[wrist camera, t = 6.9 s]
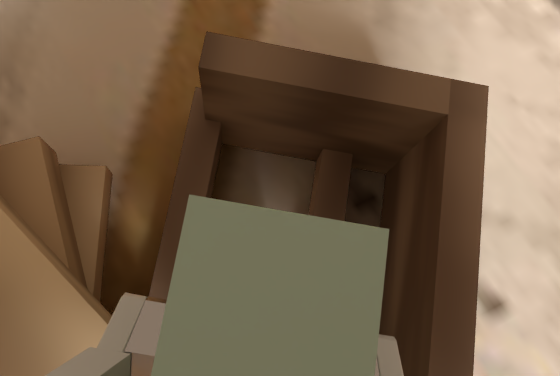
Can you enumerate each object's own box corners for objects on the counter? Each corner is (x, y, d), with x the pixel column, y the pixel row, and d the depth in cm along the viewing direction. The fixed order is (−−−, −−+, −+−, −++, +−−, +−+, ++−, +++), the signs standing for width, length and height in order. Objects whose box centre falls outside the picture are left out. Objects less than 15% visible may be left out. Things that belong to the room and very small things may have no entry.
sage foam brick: (285, 291, 23) (388, 229, 8) (267, 408, 22) (349, 625, 6) (220, 280, 23) (189, 194, 7) (198, 398, 21) (104, 592, 6)
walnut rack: (415, 152, 27) (488, 86, 19) (370, 636, 21) (449, 815, 14) (199, 112, 27) (186, 27, 19) (92, 599, 21) (11, 762, 13)
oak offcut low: (115, 178, 26) (105, 166, 24) (90, 454, 23) (75, 468, 21) (-6, 174, 26) (-27, 161, 24) (-50, 457, 22) (-79, 470, 20)
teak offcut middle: (55, 152, 24) (39, 136, 22) (121, 434, 21) (109, 447, 19) (-79, 187, 23) (-110, 173, 21) (-29, 487, 20) (-59, 507, 18)
